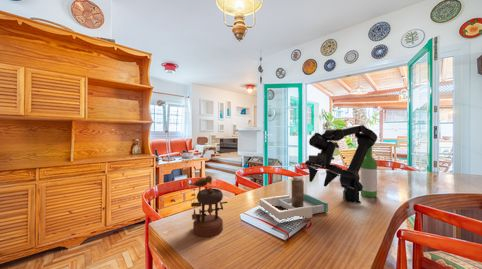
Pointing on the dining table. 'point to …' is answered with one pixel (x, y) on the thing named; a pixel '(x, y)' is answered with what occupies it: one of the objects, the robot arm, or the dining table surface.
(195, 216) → the music box
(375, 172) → the wine bottle
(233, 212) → the dining table surface
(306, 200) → the grey tray
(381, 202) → the dining table surface
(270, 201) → the tray sleeve
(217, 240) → the dining table surface
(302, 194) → the pepper mill
